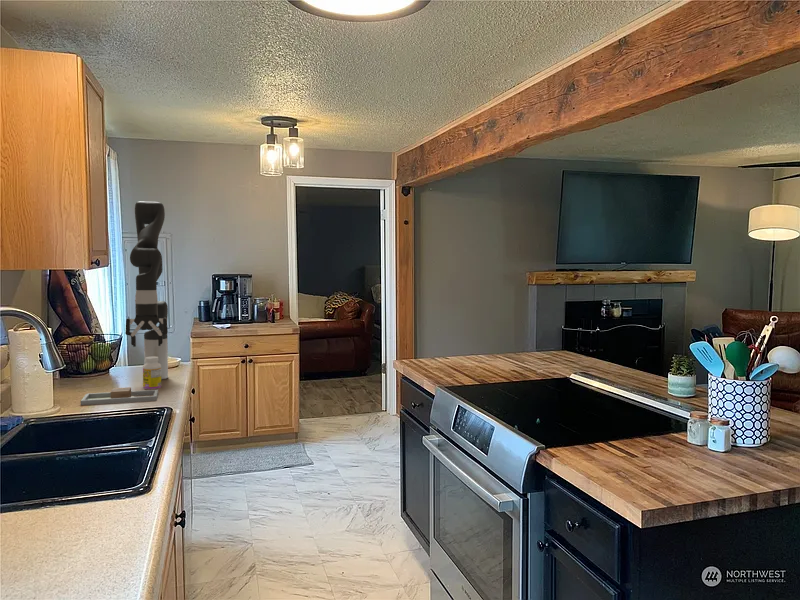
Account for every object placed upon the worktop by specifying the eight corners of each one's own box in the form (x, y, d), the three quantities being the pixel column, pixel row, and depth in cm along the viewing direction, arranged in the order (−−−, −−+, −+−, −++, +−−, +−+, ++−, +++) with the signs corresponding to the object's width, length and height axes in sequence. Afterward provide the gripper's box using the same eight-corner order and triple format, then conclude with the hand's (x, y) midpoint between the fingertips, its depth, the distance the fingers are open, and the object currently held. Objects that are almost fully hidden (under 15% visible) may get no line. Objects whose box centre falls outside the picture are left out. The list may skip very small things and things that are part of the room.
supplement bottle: (140, 389, 230) (140, 356, 229) (158, 386, 234) (157, 355, 234) (146, 392, 225) (145, 359, 224) (163, 389, 229) (163, 357, 228)
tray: (86, 400, 211) (86, 393, 211) (158, 396, 219) (158, 389, 219) (80, 407, 201) (80, 400, 201) (156, 403, 209) (156, 396, 208)
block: (113, 397, 212) (112, 388, 211) (131, 396, 214) (131, 387, 213) (110, 401, 206) (110, 391, 206) (129, 400, 208) (129, 390, 208)
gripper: (167, 301, 221) (168, 344, 222) (126, 302, 216) (127, 345, 217) (166, 302, 214) (167, 346, 215) (124, 303, 209) (124, 348, 210)
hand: (147, 346), depth 216 cm, fingers open, 8 cm apart
